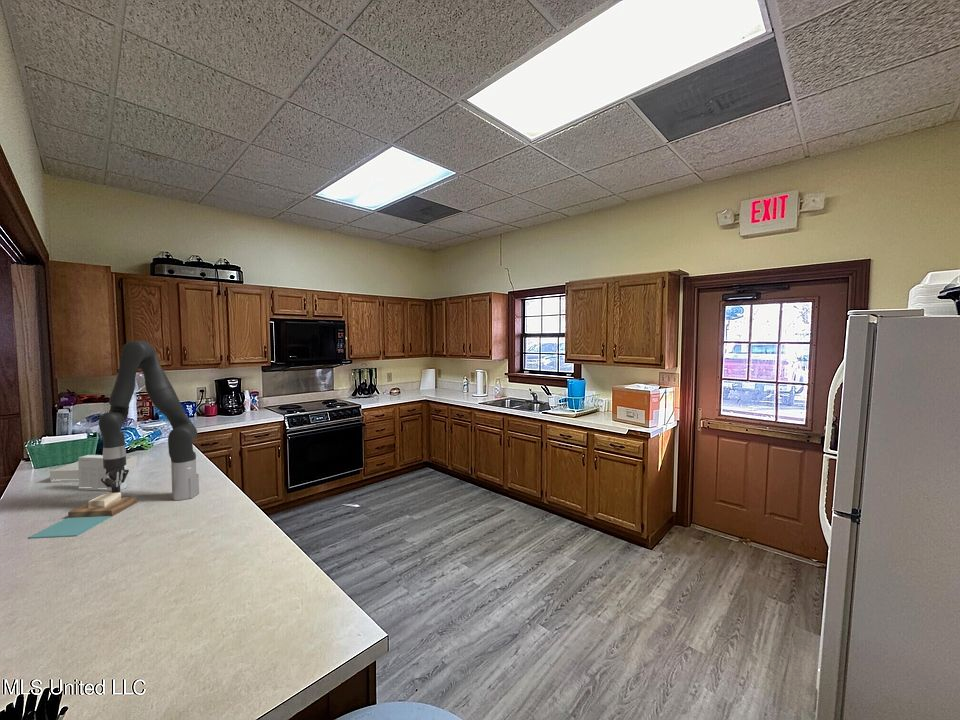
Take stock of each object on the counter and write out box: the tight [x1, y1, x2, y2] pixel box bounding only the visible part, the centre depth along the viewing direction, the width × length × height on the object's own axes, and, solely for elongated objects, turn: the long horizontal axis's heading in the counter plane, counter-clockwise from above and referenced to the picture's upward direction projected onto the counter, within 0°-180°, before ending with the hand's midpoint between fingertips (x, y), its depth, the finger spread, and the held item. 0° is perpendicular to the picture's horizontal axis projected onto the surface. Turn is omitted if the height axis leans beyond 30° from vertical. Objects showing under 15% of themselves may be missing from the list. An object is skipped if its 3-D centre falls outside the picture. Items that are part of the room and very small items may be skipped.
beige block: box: [87, 491, 122, 508], centre depth 171 cm, size 6×9×3 cm, turn 7°
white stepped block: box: [49, 455, 138, 484], centre depth 214 cm, size 24×24×6 cm
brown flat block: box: [67, 496, 138, 518], centre depth 170 cm, size 16×14×2 cm
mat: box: [27, 516, 112, 539], centre depth 155 cm, size 16×16×1 cm
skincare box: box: [77, 454, 128, 492], centre depth 194 cm, size 21×5×16 cm, turn 84°
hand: (116, 494), depth 177 cm, fingers closed
